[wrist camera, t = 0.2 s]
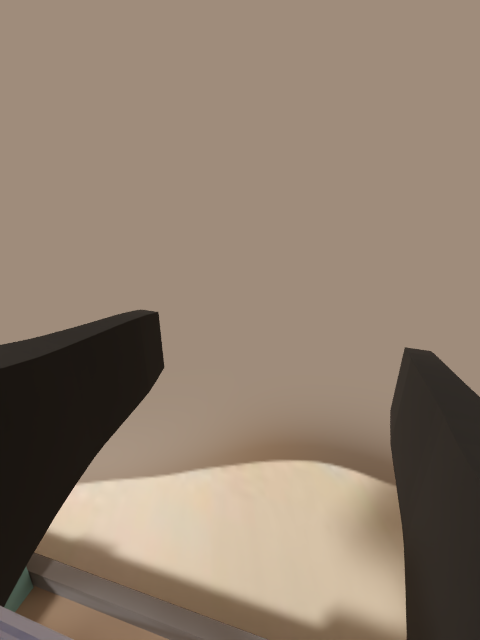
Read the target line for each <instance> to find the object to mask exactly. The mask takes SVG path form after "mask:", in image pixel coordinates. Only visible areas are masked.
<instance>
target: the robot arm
mask: <svg viewBox="0 0 480 640" xmlns="http://www.w3.org/2000/svg"><path fill="white" fill-rule="evenodd" d="M163 369H164V361H163V351H162V342H161V332H160V323H159V314H158V312H154V311H147V310H136V311H131V312H127V313H122V314H118V315H115V316H112V317H108V318H105V319H101V320H98V321H94V322H91V323H88V324H84V325H81V326H77V327H74V328H70V329H66V330H63V331H59V332H55V333H52V334H48V335H45V336H40V337H36V338H32V339H28V340H23V341H18V342H13V343H8V344H3V345H0V640H73V639H71V638H69V637H67V636H65V635H63V634H60V633H58V632H56V631H54V630H52V629H50V628H47V627H45V626H43V625H41V624H39V623H37V622H34V621H32V620H30V619H28V618H26V617H24V616H21V615H19V614H17V613H15V612H13V611H11V610H8V609H6V608H4V606H5V604H6V602H7V600H8V599H9V597H10V595H11V593H12V591H13V589H14V588H15V586H16V584H17V582H18V580H19V578H20V577H21V575H22V573H23V571H24V569H25V567H26V566H27V564H28V562H29V560H30V558H31V556H32V555H33V553H34V551H35V550H36V548H37V546H38V545H39V543H40V541H41V539H42V538H43V536H44V534H45V533H46V531H47V529H48V528H49V526H50V524H51V523H52V521H53V519H54V518H55V516H56V514H57V513H58V511H59V510H60V508H61V507H62V505H63V503H64V502H65V500H66V499H67V497H68V496H69V494H70V493H71V491H72V489H73V488H74V486H75V485H76V483H77V482H78V480H79V479H80V478H81V476H82V475H83V473H84V472H85V470H86V469H87V467H88V466H89V465H90V463H91V461H92V460H93V459H94V457H95V456H96V455H97V453H98V452H99V451H100V450H101V448H102V447H103V446H104V444H105V443H106V442H107V441H108V440H109V439H110V437H111V436H112V435H113V434H114V433H115V432H116V431H117V429H118V428H119V427H120V426H121V425H122V423H123V422H124V421H125V420H126V419H127V418H128V417H129V415H130V414H131V413H132V412H133V411H134V410H135V408H136V407H137V406H138V405H139V403H140V402H141V401H142V400H143V399H144V398H145V396H146V395H147V394H148V393H149V391H150V390H151V388H152V387H153V385H154V384H155V382H156V380H157V379H158V377H159V375H160V374H161V372H162V370H163ZM390 418H391V419H390V420H391V421H390V424H391V425H390V429H391V430H390V432H391V434H390V435H391V450H392V458H393V465H394V472H395V479H396V486H397V493H398V500H399V507H400V514H401V521H402V530H403V540H404V559H405V586H406V623H407V640H480V397H479V396H478V395H477V394H476V393H475V392H474V391H472V390H471V389H470V388H469V387H468V386H467V385H466V384H465V383H464V382H463V381H462V380H461V379H460V378H459V377H458V376H457V375H456V374H454V372H452V371H451V370H450V369H449V368H448V367H447V366H446V365H445V364H444V363H443V362H442V361H441V360H440V359H439V358H438V357H437V356H436V355H435V354H434V353H432V352H431V351H426V350H419V349H411V348H405V349H404V354H403V358H402V362H401V367H400V371H399V376H398V380H397V384H396V389H395V393H394V397H393V402H392V406H391V416H390Z"/></svg>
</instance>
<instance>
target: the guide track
mask: <svg viewBox="0 0 480 640" xmlns="http://www.w3.org/2000/svg"><path fill="white" fill-rule="evenodd" d="M4 608H6V609H8V610H11V611H13V612H15V613H17V614H19V615H21V616H24V617H26V618H28V619H30V620H32V621H34V622H37V623H39V624H41V625H43V626H45V627H47V628H50V629H52V630H54V631H56V632H58V633H60V634H63V635H65V636H67V637H69V638H71V639H73V640H268V639H265V638H262V637H260V636H257V635H254V634H252V633H249V632H246V631H244V630H241V629H238V628H235V627H233V626H230V625H227V624H225V623H222V622H219V621H217V620H214V619H211V618H209V617H206V616H203V615H201V614H198V613H195V612H192V611H190V610H187V609H184V608H182V607H179V606H176V605H174V604H171V603H168V602H166V601H163V600H160V599H158V598H155V597H152V596H150V595H147V594H144V593H141V592H139V591H136V590H133V589H131V588H128V587H125V586H123V585H120V584H117V583H115V582H112V581H109V580H107V579H104V578H101V577H98V576H96V575H93V574H90V573H88V572H85V571H82V570H80V569H77V568H74V567H72V566H69V565H66V564H64V563H61V562H58V561H55V560H53V559H50V558H47V557H45V556H42V555H39V554H37V553H33V555H32V556H31V558H30V560H29V562H28V564H27V566H26V567H25V569H24V571H23V573H22V575H21V577H20V578H19V580H18V582H17V584H16V586H15V588H14V589H13V591H12V593H11V595H10V597H9V599H8V600H7V602H6V604H5V606H4Z"/></svg>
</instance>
